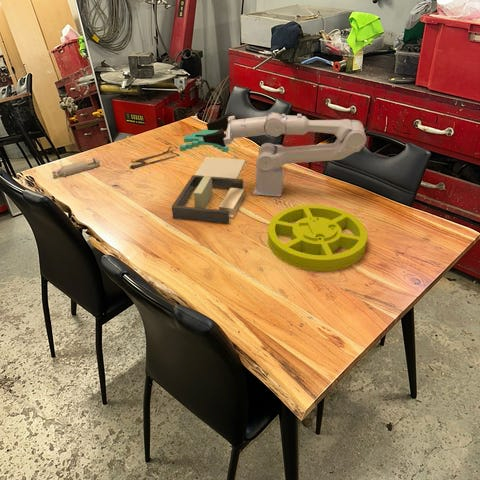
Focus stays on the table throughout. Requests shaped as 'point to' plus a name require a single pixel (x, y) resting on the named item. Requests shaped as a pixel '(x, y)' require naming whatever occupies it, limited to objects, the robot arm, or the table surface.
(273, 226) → the pulley
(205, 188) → the sage board
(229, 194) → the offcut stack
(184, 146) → the alien figure
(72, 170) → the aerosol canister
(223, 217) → the offcut rack
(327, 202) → the table surface
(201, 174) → the rubber mat
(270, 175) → the robot arm
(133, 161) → the hacksaw
